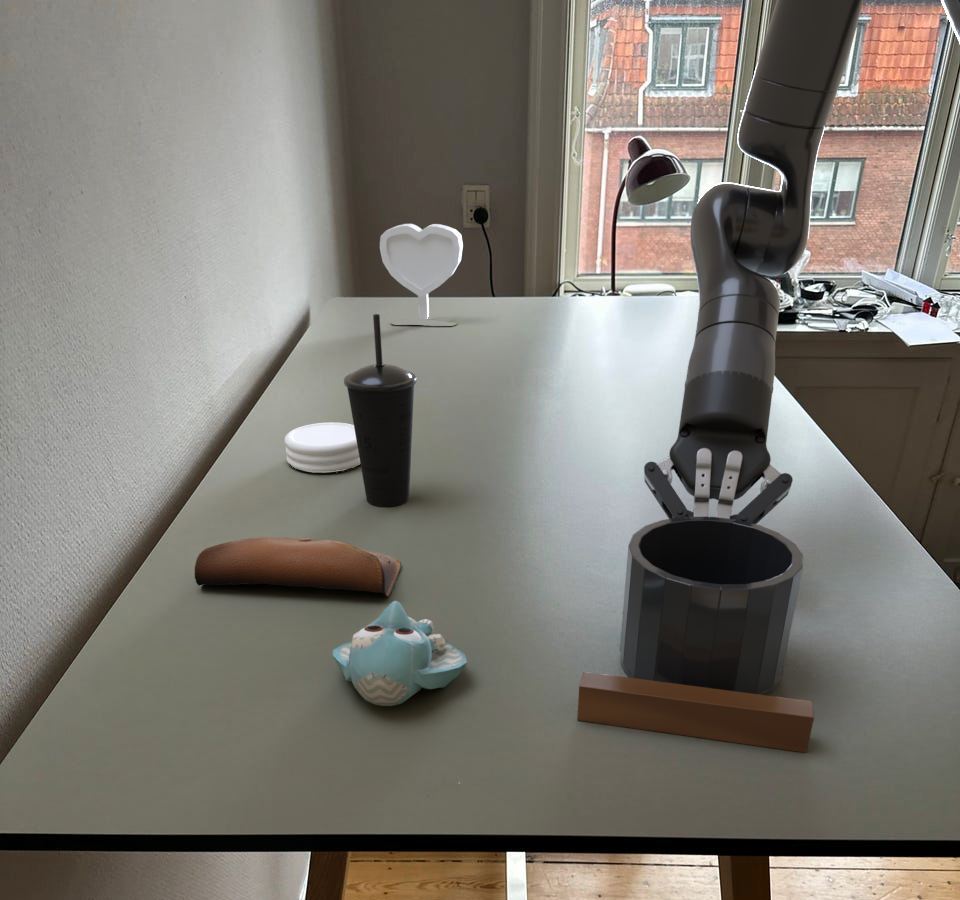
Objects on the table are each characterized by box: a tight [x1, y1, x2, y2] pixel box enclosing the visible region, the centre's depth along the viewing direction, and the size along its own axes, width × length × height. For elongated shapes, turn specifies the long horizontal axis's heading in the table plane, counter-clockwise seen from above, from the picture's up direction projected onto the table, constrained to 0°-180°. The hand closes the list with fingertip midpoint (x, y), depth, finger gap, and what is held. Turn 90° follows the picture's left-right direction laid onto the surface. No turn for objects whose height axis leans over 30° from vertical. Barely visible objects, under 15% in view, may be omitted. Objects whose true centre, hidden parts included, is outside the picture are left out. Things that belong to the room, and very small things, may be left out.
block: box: [576, 671, 815, 754], centre depth 65 cm, size 2×16×3 cm, turn 76°
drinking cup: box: [343, 313, 417, 508], centre depth 99 cm, size 8×8×20 cm
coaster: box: [284, 421, 361, 471], centre depth 114 cm, size 10×10×4 cm
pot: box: [619, 516, 804, 696], centre depth 71 cm, size 13×13×10 cm
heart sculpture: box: [379, 223, 464, 319], centre depth 178 cm, size 16×5×18 cm, turn 81°
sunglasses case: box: [194, 536, 402, 597], centre depth 86 cm, size 18×7×7 cm
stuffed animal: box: [332, 600, 468, 707], centre depth 71 cm, size 11×7×12 cm
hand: (703, 575), depth 77 cm, fingers closed
